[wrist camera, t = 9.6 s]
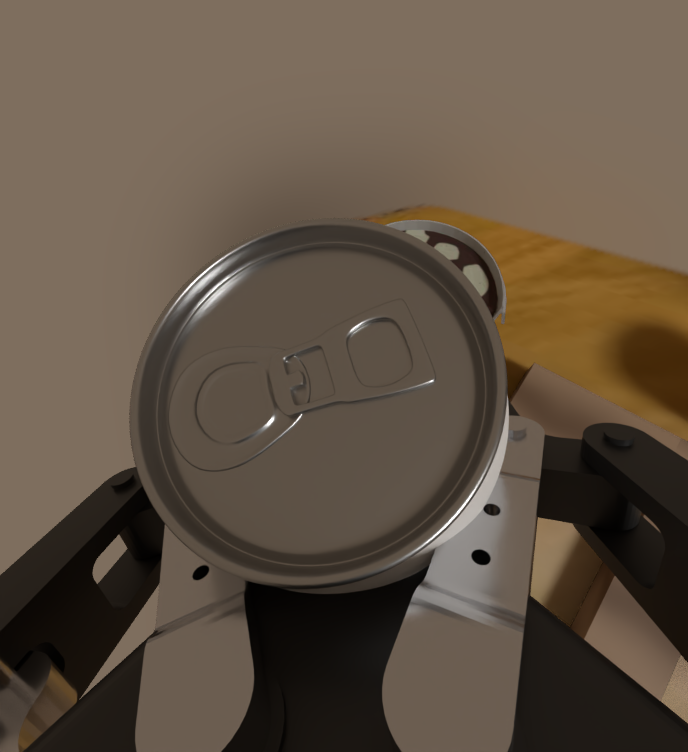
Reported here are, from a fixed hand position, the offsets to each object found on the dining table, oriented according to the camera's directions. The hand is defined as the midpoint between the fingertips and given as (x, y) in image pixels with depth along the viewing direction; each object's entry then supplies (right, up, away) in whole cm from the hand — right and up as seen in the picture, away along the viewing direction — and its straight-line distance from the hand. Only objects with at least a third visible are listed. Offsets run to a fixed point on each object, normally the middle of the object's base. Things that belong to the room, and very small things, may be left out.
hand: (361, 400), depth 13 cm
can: (+1, -3, +4) cm, 5 cm away
